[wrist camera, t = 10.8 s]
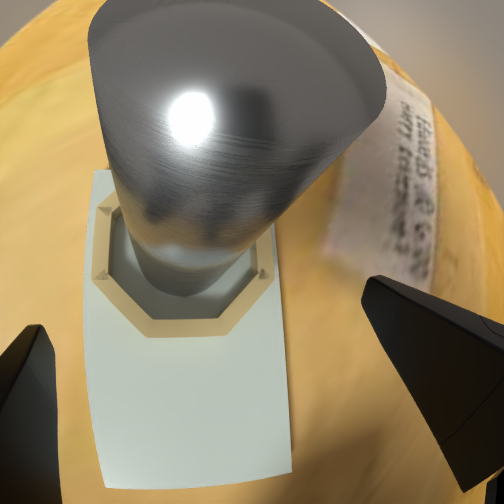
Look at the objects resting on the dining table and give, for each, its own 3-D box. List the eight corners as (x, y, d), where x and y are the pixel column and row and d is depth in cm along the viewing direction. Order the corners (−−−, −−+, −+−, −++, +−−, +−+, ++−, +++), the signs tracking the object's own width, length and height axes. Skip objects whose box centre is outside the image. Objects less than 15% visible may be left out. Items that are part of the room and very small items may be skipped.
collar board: (283, 465, 14) (300, 480, 12) (108, 478, 12) (102, 497, 9) (262, 185, 19) (276, 165, 17) (98, 179, 16) (91, 158, 14)
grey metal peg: (211, 309, 15) (385, 208, 3) (123, 277, 14) (18, 79, 2) (238, 225, 16) (381, 30, 5) (156, 195, 15) (178, -44, 4)
